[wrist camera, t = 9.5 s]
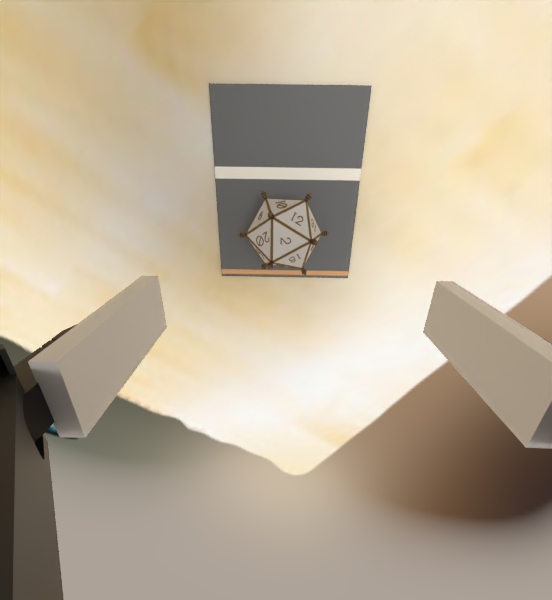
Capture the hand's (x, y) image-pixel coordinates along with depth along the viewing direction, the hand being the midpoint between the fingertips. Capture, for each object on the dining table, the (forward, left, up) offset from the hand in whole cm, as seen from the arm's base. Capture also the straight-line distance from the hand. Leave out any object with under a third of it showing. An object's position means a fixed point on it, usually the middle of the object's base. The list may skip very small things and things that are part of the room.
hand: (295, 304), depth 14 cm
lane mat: (-4, 0, -22) cm, 22 cm away
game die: (0, 0, -22) cm, 22 cm away
